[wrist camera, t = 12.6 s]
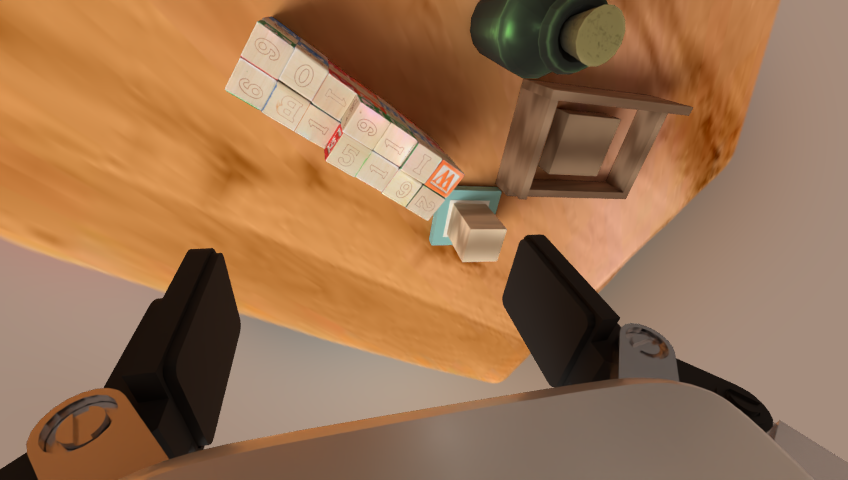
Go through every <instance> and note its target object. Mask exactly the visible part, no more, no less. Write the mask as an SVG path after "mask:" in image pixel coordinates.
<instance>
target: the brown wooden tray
mask: <svg viewBox="0 0 848 480" xmlns="http://www.w3.org/2000/svg"><path fill="white" fill-rule="evenodd" d="M558 101H567V102H575V103H584V104H593V105H601V106H610V107H619V108H627V109H636V110H637V113H636V115H635V117H634V119H633V122H632V124H631V126H630V128H629V131H628V133H627V135H626V137H625V140H624V142H623V144H622V146H621V149H620V151H619V153H618V155H617V158H616V160H615V162H614V164H613V167H612V169H611V171H610V173H609V176H608V178H607V180H606V182H597V181H573V180H549V179H533V178H534V175H535V172H536V169H537V165H538V166H539V167H540V168H541V169H543V170H544V171H545V172H547V173H548V174H559V175H580V176H597V175H598V172H599V170H600V168H601V165H602V163H603V160H604V158H605V156H606V153H607V151H608V149H609V146H610V144H611V142H612V139H613V137H614V135H615V132H616V130H617V128H618V125H619V123H620V121H621V119H618V118H616V117H613V116H610V115H608V114H603V113H593V112H584V111H575V110H566V109H556V107H557V104H558ZM692 109H693V107H690V106H687V105H683V104H679V103H676V102H672V101H668V100H665V99H661V98H657V97H654V96H650V95H643V94H635V93H627V92H620V91H612V90H605V89H597V88H589V87H582V86H574V85H567V84H559V83H551V82H544V81H536V80H529V79H523V82H522V86H521V89H520V93H519V97H518V101H517V104H516V108H515V112H514V116H513V119H512V123H511V127H510V131H509V134H508V138H507V142H506V146H505V149H504V153H503V157H502V160H501V164H500V168H499V172H498V175H497V179H496V183H495V184H496V185H497V186H498V187H499V188H500V189H501V190H502V191H503V192H504V193H505V194H506V195H507V196H517V197H518V198H519V199H527V196H528V197H567V198H605V199H626V198H627V196H628V194H629V191H630V189H631V187H632V185H633V183H634V181H635V179H636V177H637V175H638V173H639V171H640V169H641V167H642V165H643V163H644V161H645V159H646V157H647V155H648V153H649V151H650V149H651V147H652V145H653V143H654V141H655V139H656V137H657V134H658V132H659V130H660V128H661V126H662V124H663V122H664V120H665V118H666V116H667V114H668V113H670V114H679V115H688V116H689V115H690V113H691V111H692ZM555 110H556V112H555ZM554 113H555V115H554ZM553 116H554V118H553ZM552 119H553V121H552ZM551 123H552V124H551ZM550 126H551V128H550ZM549 129H550V131H549ZM548 132H549V134H548ZM547 135H548V137H547ZM546 138H547V140H546ZM545 141H546V143H545ZM544 144H545V146H544ZM543 147H544V149H543ZM542 150H543V152H542ZM541 153H542V155H541ZM540 156H541V158H540ZM539 159H540V161H539ZM538 162H539V164H538Z"/></svg>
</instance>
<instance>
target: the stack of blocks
mask: <svg viewBox="0 0 848 480" xmlns="http://www.w3.org/2000/svg"><path fill="white" fill-rule="evenodd" d="M225 90H226V91H227V92H229V93H231V94H232V95H234V96H236V97H237V98H239V99H241V100H243V101H244V102H246V103H248V104H249V105H251V106H253V107H255V108H256V109H258V110H261V112H262V113H264V114H265V115H267V116H269V117H270V118H272V119H274V120H275V121H277V122H279V123H280V124H282V125H284V126H286V127H287V128H289V129H291V130H292V131H294V132H296V133H297V134H298V135H300V136H302V137H304V138H305V139H307V140H309V141H311V142H312V143H314V144H316V145H318V146H319V147H322V148H325V150H324V153H325V161H326V162H328V163H330V164H331V165H333V166H335V167H337V168H339V169H340V170H342V171H344V172H346V173H347V174H349V175H351V176H353V177H356V178H358V179H359V180H361V181H363V182H364V183H366V184H368V185H370V186H371V187H373V188H375V189H377V190H378V191H380V192H381V193H382V194H383V195H385V196H387V197H388V198H390V199H392V200H394V201H395V202H397V203H399V204H400V205H402V206H404V207H406V208H407V209H408V210H410V211H411V212H413V213H415V214H416V215H418V216H420V217H421V218H423V219H425V220H427V221H428V220H429V219H430V218H431V217H432V215H433V214H434V213H435V212H436V210H437V209H438V208H439V207H440V206H441V205H442V203H443V202H444V201H445V198H447V197H448V196H449V195H450V193H451V192H452V191H453V190H454V188H455V187H456V186H457V185H458V183H459V182H460V181H461V180H462V178H463V177H464V175H465V174H464V173H463V172H462V171H461V170H460V169H459V168H458V167H457V166H456V165H455V163H454V162H453V161H452V160H451V158H450V157H449V156H448V155H447V154H445V153H444V151H443V150H442V149H441V148H440V147H439V145H438V144H437V143H436V142H435V141H434V140H433V139H432V138H431V137H430V136H428V135H427V134H426V133H425V132H423V131H422V130H421V129H419V128H418V127H417V126H416V125H415V124H414V123H413V122H411V121H410V120H409V119H407V118H406V117H405V116H404V115H402V114H401V113H400V112H398V111H397V110H396V109H394V108H393V107H392V106H391V105H389V104H388V103H387V102H385V101H384V100H383V99H382V98H380V97H379V96H378V95H376V94H373V93H372V92H371V91H369V90H368V89H367V88H365V87H364V86H363V85H361V84H360V83H359V82H357V81H356V80H355V79H354V78H351V77H350V76H349V75H347V74H346V73H345V72H343V71H342V70H341V69H339V68H338V67H337V66H335V65H334V64H333V63H331V62H330V61H329V60H328V59H327V57H326V56H324V55H323V54H322V53H320V52H319V51H318V50H316V49H315V48H314V47H313V46H311V45H310V44H309V43H307V42H306V41H305V40H303V39H302V38H300V37H298V36H297V35H296V34H295V33H293V32H292V31H291V30H289V29H288V28H287V27H285V26H284V25H283V24H281V23H280V22H279V21H277V20H276V19H275V18H273V17H265V18H263V19H262V20H259V21H257V23H256V25H255V27H254V29H253V31H252V33H251V35H250V37H249V39H248V41H247V43H246V45H245V47H244V49H243V52H242V54H241V57H240V59H239V61H238V63H237V65H236V67H235V69H234V71H233V73H232V75H231V77H230V79H229V81H228V83H227V85H226V87H225Z"/></svg>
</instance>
